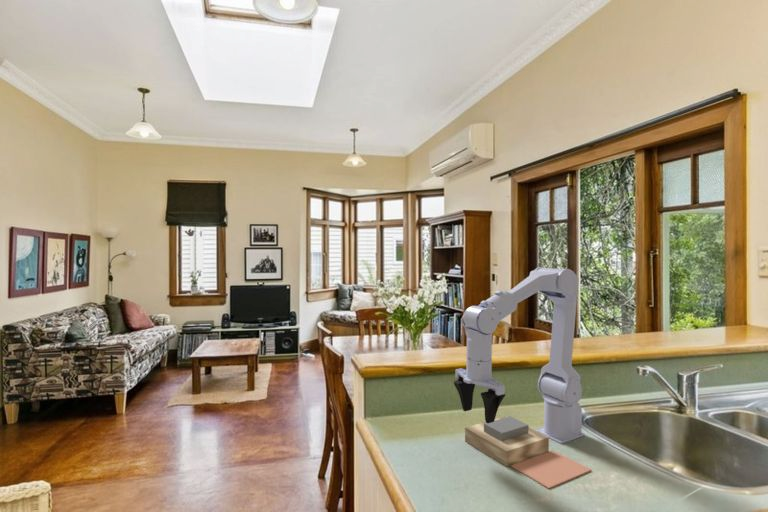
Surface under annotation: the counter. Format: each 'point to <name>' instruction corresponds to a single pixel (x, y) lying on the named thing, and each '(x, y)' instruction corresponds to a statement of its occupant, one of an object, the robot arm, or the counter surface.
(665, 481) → the counter surface
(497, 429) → the slate tile
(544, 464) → the terracotta mat
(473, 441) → the birch deck
